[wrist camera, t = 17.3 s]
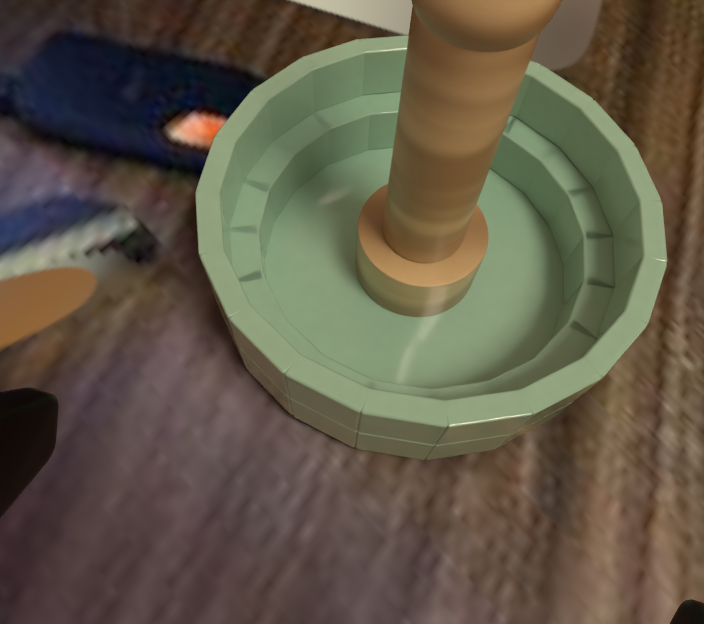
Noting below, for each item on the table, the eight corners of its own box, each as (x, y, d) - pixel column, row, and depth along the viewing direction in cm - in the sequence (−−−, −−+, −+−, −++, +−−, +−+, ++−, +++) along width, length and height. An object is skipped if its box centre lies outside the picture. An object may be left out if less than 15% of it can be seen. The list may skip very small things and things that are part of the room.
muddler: (476, 321, 23) (657, -24, 10) (352, 313, 23) (378, -42, 10) (471, 217, 25) (616, -173, 12) (357, 210, 25) (386, -189, 12)
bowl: (427, 560, 19) (457, 549, 15) (142, 265, 24) (99, 189, 19) (676, 274, 25) (753, 202, 20) (403, 76, 29) (416, -19, 25)
